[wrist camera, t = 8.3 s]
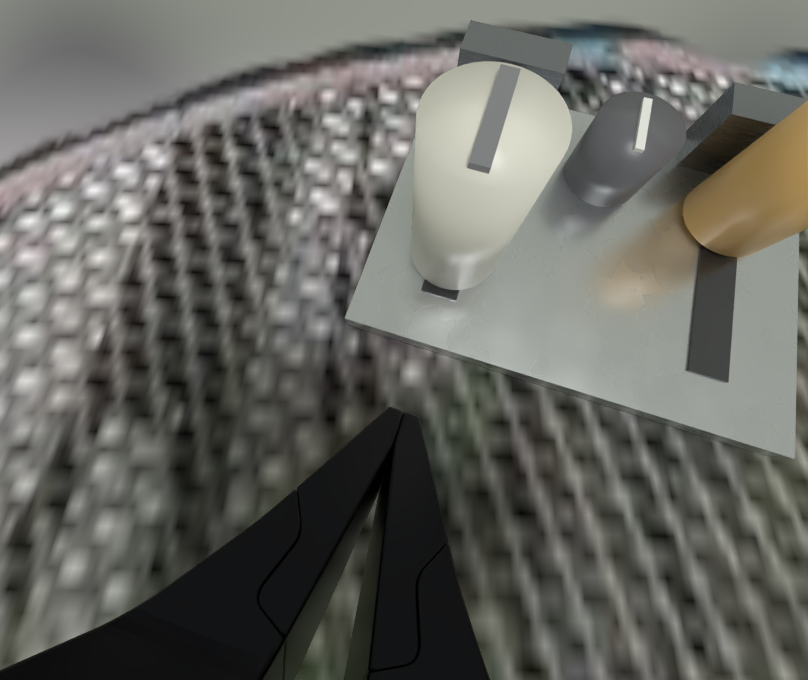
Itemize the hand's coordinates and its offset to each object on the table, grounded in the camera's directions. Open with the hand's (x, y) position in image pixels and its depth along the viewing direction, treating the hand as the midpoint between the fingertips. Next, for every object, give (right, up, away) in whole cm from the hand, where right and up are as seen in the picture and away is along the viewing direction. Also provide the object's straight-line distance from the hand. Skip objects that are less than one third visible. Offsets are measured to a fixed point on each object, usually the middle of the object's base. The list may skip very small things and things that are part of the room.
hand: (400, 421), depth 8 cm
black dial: (+11, +11, +9) cm, 18 cm away
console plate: (+10, +7, +9) cm, 15 cm away
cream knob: (+3, +7, +7) cm, 10 cm away
